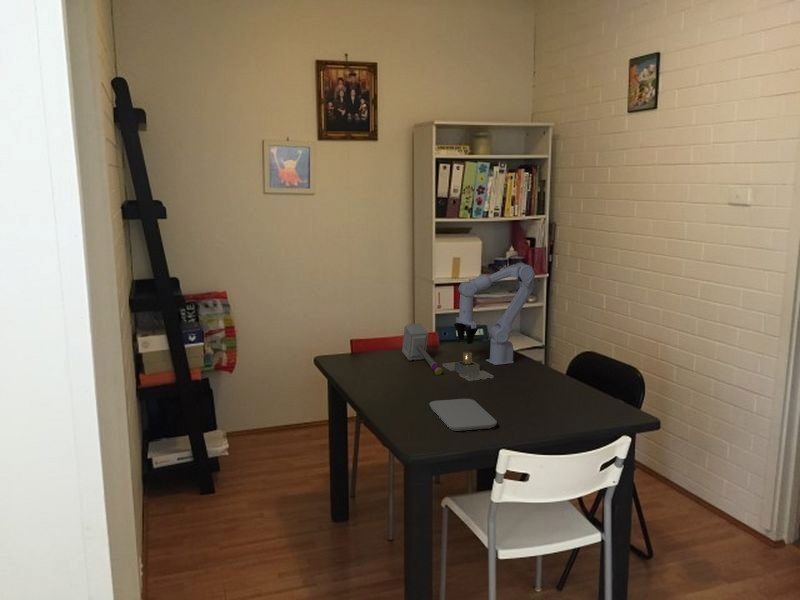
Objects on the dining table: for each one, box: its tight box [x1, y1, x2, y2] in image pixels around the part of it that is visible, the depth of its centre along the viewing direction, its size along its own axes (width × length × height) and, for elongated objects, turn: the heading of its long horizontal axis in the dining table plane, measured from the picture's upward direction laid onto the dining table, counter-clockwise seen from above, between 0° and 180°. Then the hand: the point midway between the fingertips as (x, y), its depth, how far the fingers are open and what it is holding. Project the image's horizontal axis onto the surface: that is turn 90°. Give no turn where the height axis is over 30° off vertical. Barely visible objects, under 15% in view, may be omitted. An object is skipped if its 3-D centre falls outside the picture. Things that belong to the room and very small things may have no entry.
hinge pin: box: [462, 351, 473, 366], centre depth 279 cm, size 4×4×8 cm
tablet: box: [429, 398, 498, 431], centre depth 226 cm, size 16×26×2 cm, turn 14°
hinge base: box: [441, 360, 494, 382], centre depth 279 cm, size 11×23×4 cm, turn 23°
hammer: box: [401, 323, 443, 376], centre depth 286 cm, size 15×8×30 cm
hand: (465, 341), depth 291 cm, fingers open, 7 cm apart
